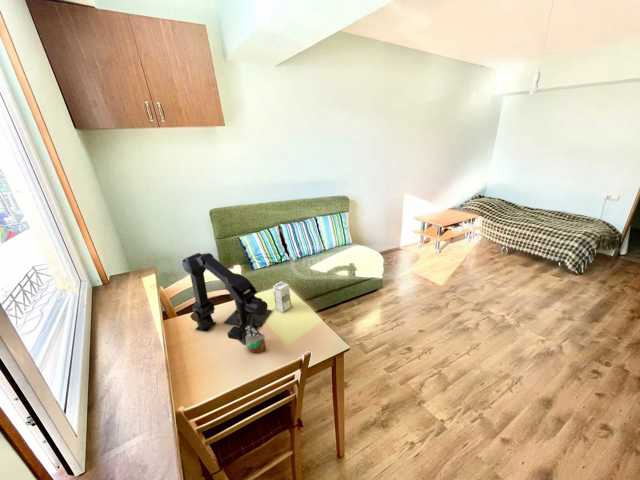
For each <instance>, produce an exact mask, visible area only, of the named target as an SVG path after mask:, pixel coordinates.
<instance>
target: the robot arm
mask: <svg viewBox="0 0 640 480" xmlns="http://www.w3.org/2000/svg"><path fill="white" fill-rule="evenodd" d="M181 262H182V263H181V265H182V267H183V269H184V271H185V272H186V273H188V275H190V281H191V285H192V290H193V295H194V299H195V301H194V303H193V305H192V313H191V314H190V316H189V317H190V318H191V320H192V321H193V322H195V323H196V324H197V327H196V328H195V330H196V331H201V332H207V333H208V332H210V330H211V329H213V327H214V326H215V325H216V324H217V322H216V321H214V319H213V316H212V314H213V315H214V313H215V310H216V308H215V303H214V302H212V301H211V300H209V297H208V291H207V285H206V280H205V272H206V270H207V271H209V273H211V274H212V275H214V276H215V278H217V279H219V281H221V282H222V283H223V284H224V285H225V290H226V291H227V292H228V293H229V294H230V295H229V297H231V298H232V299H234V300H233V301H234V304H235V308H236V309H235V311H234V312H235V314H238V317H239V318H238V319H237V322H240V323H241V325H240V326H237V325H233V326H232V327H231V328H230V330H228V331H227V333H226V335H227V337H228V339H232V340H236V341H238V342H240V343H241V344H242V345H243V346H247V344H246V338H245V337H246V336H247V330H246V327H247V326H248V325H251V323H252V325H253V327H254V328H256V329H257V330H258V331H259V328H263V327H264V325H265V324H266V323H267V319H268V318H269V316H270V314H269V315H268V311H267V310H268V307H269V306H268V303H267V302H266V301H265V300H263V299H262V298H261V297H257V296H256V294H258V291H257V289H256V287H255V286H254V285H253V283H252V282H251V281H250V280H249V278H247V277H246V276H244V275H242V274H240V273H235V272H233V271H231V270H230V269H229V268H227V267H226V266H225V265H224V264H222V262H220V261H219V260H217V259H216V258H215V257H214V255H213V254H212V253H211V252H205V253H200V252H197V253H194V254H192V255H189V256H187V257H185V258H183V259H182V261H181ZM247 291H248V292H247ZM258 327H259V328H258Z"/></svg>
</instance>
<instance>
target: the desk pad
mask: <svg viewBox="0 0 640 480" xmlns="http://www.w3.org/2000/svg"><path fill="white" fill-rule="evenodd" d="M267 311H268V315H269V316H270V314H271V313H272V310H271V309H267ZM238 318H239V317H238V314H235V311H233V312H232V313H231V314H230V316H228V318H227V319H226V320H225V321H224V322H223V323H224V325H225V324H226V325H231V326H236V327H239V326H240V325H241V323H240V322H237V319H238ZM251 325H252V323H251ZM252 326H253V325H252ZM258 329H259V327H258Z"/></svg>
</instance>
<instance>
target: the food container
mask: <svg viewBox="0 0 640 480" xmlns="http://www.w3.org/2000/svg"><path fill="white" fill-rule="evenodd" d="M246 330H247V336H246V337H245V338H246V346H247V348H248V351H249V352H250V353H251V354H262V353H264V352H267V350H266V341H265V338H266V337H265V334H264V333H261V332H260V331H259V329H258V330H257V329H256V328H254V327H253V326H252V325H248V326H247V327H246Z"/></svg>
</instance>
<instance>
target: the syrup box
mask: <svg viewBox="0 0 640 480" xmlns="http://www.w3.org/2000/svg"><path fill="white" fill-rule="evenodd" d="M272 290H273V296H274V304H275V309H276V310H278V311H280V312H281V313H284V312H286V311H288V310H289V309H291V308H292V301H291V291H290V285H289V284H288V283H287V282H284V281H279V282H278V283H276V284H274V285H272Z"/></svg>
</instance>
